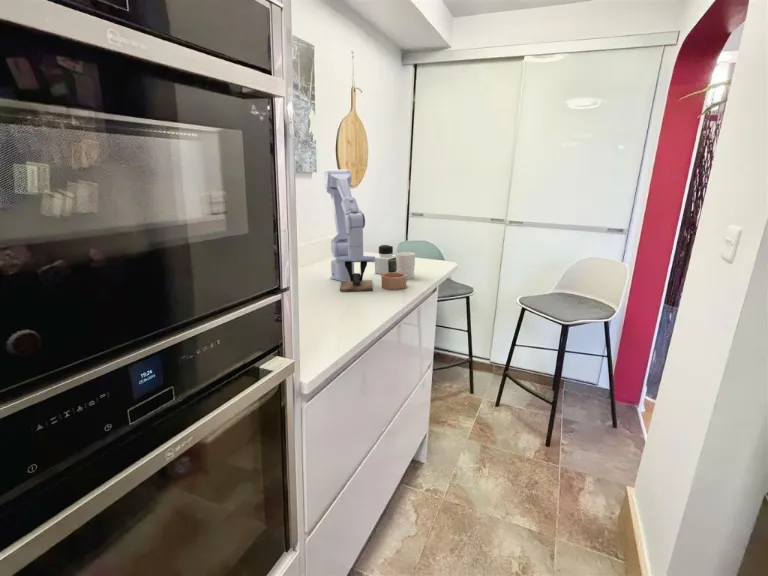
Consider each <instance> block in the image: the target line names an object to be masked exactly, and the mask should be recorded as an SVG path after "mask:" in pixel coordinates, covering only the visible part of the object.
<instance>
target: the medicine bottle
mask: <svg viewBox="0 0 768 576" xmlns="http://www.w3.org/2000/svg"><path fill="white" fill-rule="evenodd" d="M393 251H394V247H393V245H390V244H382V245H379V246H378V255H377V256H375V262H374V273H375V274H376V273H377V274H379V275H381V274H385V273H392V272H397V265H396V255H393V254H394V252H393ZM377 274H376V275H377Z"/></svg>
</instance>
